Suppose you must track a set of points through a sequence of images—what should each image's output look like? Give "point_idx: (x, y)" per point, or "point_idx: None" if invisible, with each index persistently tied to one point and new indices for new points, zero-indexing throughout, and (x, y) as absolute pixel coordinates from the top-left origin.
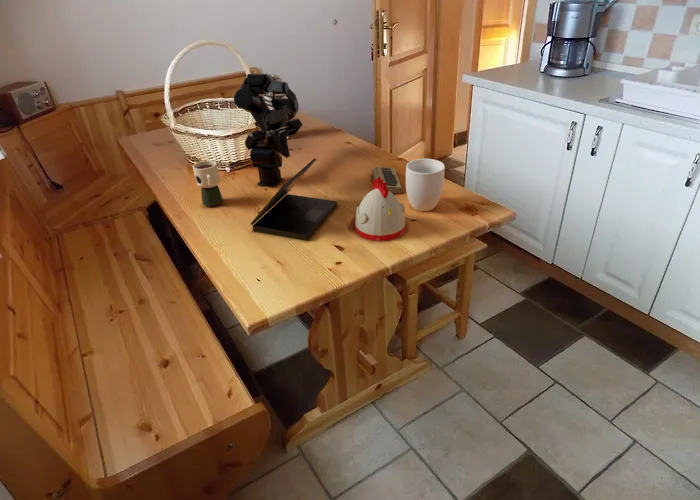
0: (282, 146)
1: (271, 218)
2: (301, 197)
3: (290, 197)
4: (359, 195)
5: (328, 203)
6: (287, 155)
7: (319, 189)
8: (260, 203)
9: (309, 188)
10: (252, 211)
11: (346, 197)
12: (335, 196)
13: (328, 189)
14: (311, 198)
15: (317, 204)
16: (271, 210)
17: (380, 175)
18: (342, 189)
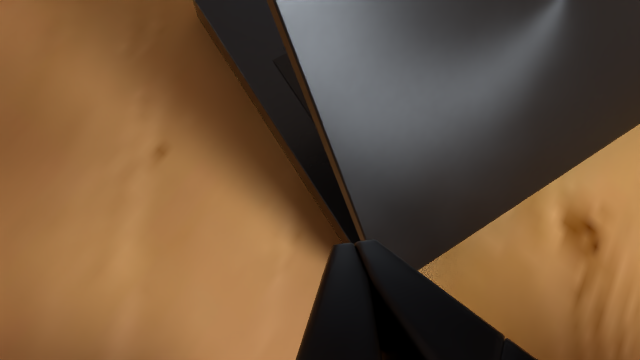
0: (452, 347)
1: None
2: (325, 167)
3: None
4: (10, 35)
5: (246, 2)
6: (378, 242)
7: (119, 267)
8: (544, 356)
9: (158, 332)
10: (624, 285)
11: (82, 64)
12: (118, 115)
13: (76, 225)
14: (283, 115)
15: None
16: None
17: None
18: (14, 163)
